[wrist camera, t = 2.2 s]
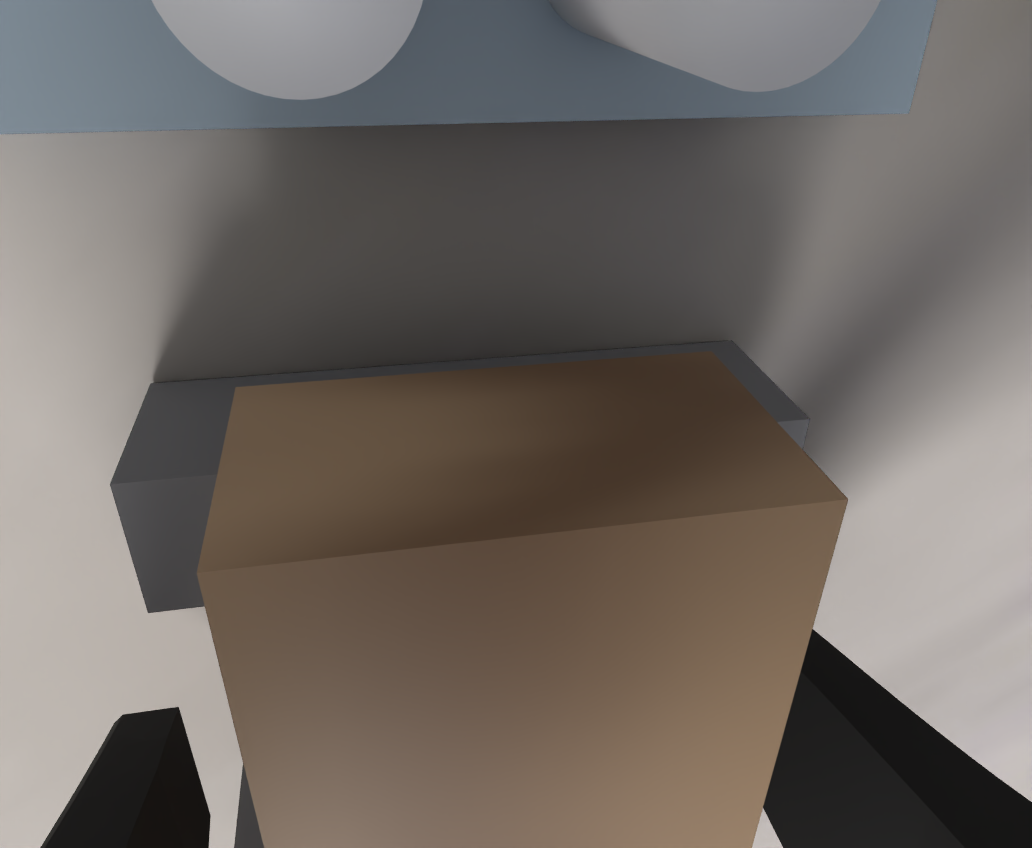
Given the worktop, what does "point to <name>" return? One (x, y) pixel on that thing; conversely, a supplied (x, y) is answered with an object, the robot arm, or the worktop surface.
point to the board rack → (198, 448)
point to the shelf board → (514, 604)
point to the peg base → (448, 61)
